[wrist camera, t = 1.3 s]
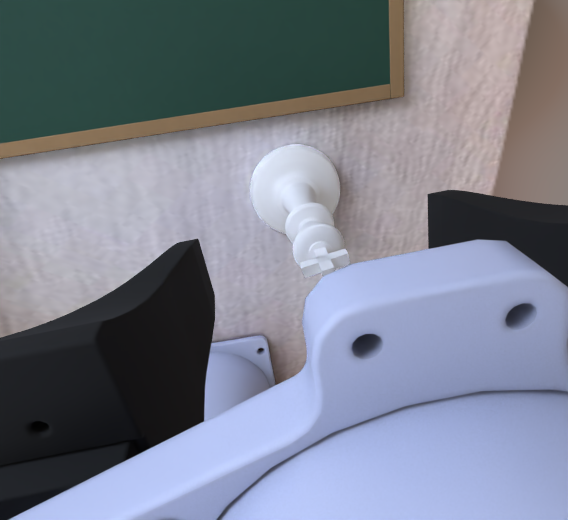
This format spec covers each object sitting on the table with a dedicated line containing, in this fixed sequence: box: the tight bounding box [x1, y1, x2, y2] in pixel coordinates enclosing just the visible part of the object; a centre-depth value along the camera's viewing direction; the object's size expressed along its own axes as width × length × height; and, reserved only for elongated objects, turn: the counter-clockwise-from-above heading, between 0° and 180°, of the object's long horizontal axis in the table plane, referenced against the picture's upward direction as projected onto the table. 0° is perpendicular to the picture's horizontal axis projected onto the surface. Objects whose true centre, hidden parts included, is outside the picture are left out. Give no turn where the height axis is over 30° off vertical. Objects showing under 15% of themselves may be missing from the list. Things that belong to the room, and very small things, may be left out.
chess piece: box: [250, 144, 350, 278], centre depth 19 cm, size 5×5×10 cm
